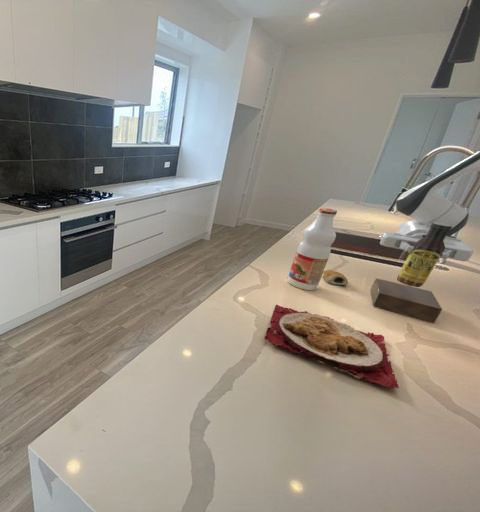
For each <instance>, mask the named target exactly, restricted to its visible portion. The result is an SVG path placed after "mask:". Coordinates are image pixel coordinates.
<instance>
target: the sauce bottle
mask: <svg viewBox="0 0 480 512" xmlns="http://www.w3.org/2000/svg"><path fill="white" fill-rule="evenodd" d="M451 228H452V226H451V225H448V224H444V223H439V222H433V223H432V224H431V228H430V230H429V232H428V233H427V234H426V236H425V237H424V238H422V239H421V240H419V241H417V243H416V244H415V246H414V249H413V252H410V253H408V256H407V257H406V259H405V261H404V263H403V265H402V266H401V269H400V270H399V272H398V275H397V277H396V280H397V282H399V283H400V284H402V285H407V286H411V287H415V288H421V287H422V286H423V285H424V284H425V283H426V281H427V279H428V278H429V276H430V275H431V273H432V271H433V270H434V268H435V266H436V265H437V263H438V261H439V260H440V259H441V258H440V256H441V254H442V252H443V250H444V249H445V245H444V239H445V237H446V235H447V233H448V231H450V230H451Z"/></svg>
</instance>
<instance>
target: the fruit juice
mask: <svg viewBox="0 0 480 512" xmlns="http://www.w3.org/2000/svg"><path fill="white" fill-rule="evenodd" d="M337 213H338V210H336V209H334V208H329V207H319V208H318V210H317V216H316V218H315V219H314V221H313V222H312V223H311V224H309V225H308V226H307V227H305V228H304V230H303V232H302V240H301V241H300V242H299V243H298V245H297V249H296V252H295V255H294V257H293V261H292V264H291V267H290V270H289V273H288V275H287V282H288V283H289V284H290V285H291V286H293V287H295V288H298V289H301V290H305V291H306V290H307V291H314V290H316V289H317V288H318V286H319V284H320V282H321V279H322V276H323V274H324V271H325V268H326V266H327V263H328V261H329V258H330V255H331V251H332V248H331V247H332V245H333V243H334V242H335V241H336V238H337V232H336V230H335V228H334V218H335V217H336V215H337Z"/></svg>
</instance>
